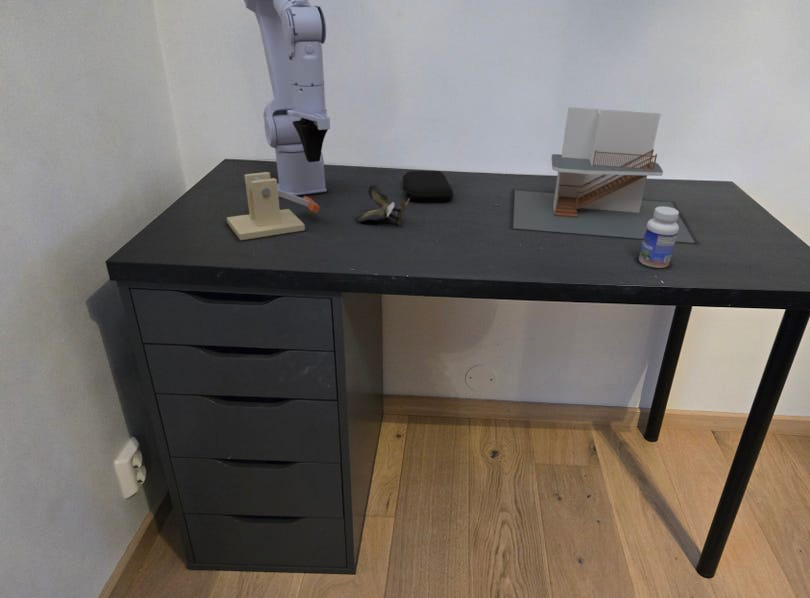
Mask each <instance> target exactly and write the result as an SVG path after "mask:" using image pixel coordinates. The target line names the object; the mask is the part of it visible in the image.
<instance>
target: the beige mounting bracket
mask: <svg viewBox="0 0 810 598" xmlns="http://www.w3.org/2000/svg"><path fill="white" fill-rule="evenodd" d="M255 177H258V178H261V179H263V180H255V181H253V180H254V178H255ZM244 182H245V189H246V191H245V192H246V198H247V205H248V213H249V214H242V215H235V216H234V215H233V216H227V217H226V223H227V225H228V226H229V228H230V229H231V230H232V231H233V232H234V234H235V235H236V237H237V238H238V239H239V240H240V241H245V240H251V239H259V238H264V237H265V238H266V237H271V236H278V235H283V234H290V233H296V232H303V231H306V225H305V223H304V222H303V221H302V220H301V219H300V218H299V217H298V216H297V215H296V214H295V213H294V212H293V211H292V210H291V209H290V208H285V209H280V200H279V198H280V197H279V196H278V188H277V183H278V180H277V178H275V177H272V178H271V173H270V172H269V171H263V172H255V173H245V174H244ZM251 188H252V190H251Z"/></svg>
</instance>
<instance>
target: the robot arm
mask: <svg viewBox="0 0 810 598" xmlns="http://www.w3.org/2000/svg"><path fill="white" fill-rule="evenodd" d="M243 2H244V5H245V8H246V9H247V10H249V11H250V12H252V13H254V15H255V18H256V20H257V21H256V22H257V24H258V27H259V31H260V36H261V37H260V38H261V40H262V46H263V51H264V56H265V61H266V66H267V71H268V76H269V81H270V85H271V92H272V96H273V99H272V100H271V101H270V102H269V103H268V104H266V106H265V108H264V110H263V122H264V123H263V124H264V132H265V139H266V141H267V144H268V145H269V146H270V147H271V148H273V149H274V150H275V161H276V171H277V179H278V180H277V188H278V190H281V191H284V192H287V193H289V194H292V195H295V196H306V195H310V194H319V193H326V192H327V190H328V189H327V188H326V175H325V174H326V173H325V161H324V155H323V151H322V150H323V144H324V140H325V137H326V135H327V132H328V130H331V120H330V119H331V118H330V117H329V116H328V109H327V108H326V107H327V106H326V94H325V93H326V91H325V74H324V72H325V71H324V59H323V57H324V56H323V45H325V42H326V39H327V23H326V16H325V13H324V11H323V8H322V6H321V5H312V4H311V3H310V1H309V0H243Z"/></svg>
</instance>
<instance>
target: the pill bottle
mask: <svg viewBox="0 0 810 598" xmlns="http://www.w3.org/2000/svg"><path fill="white" fill-rule="evenodd" d="M678 215H679V216H680V211H679V210H678V209H676V208H675V209H674V208H671V207H664V206H661V207H656V208H655V211H654V215H653V217H654V218H653V219H650V220H649V221H648V223H647V226H646V230H645V234H644V238H643V239H642V243H641V247H640V251H639V256H638V261H639V263H641V265H643V266H645V267H649V268H653V269H664V268H667V267H668V266H669V265H670V263H671V261H672V260H671V259H672V255H673V252H674V248H675V244H676V242H675V241H676V238H677V234H678V230H679V226H678V224H677V223H676V222H675V221H677V219H678Z"/></svg>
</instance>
